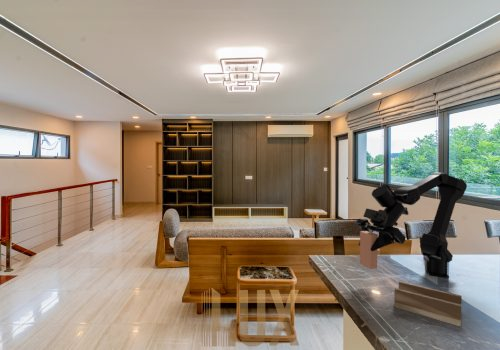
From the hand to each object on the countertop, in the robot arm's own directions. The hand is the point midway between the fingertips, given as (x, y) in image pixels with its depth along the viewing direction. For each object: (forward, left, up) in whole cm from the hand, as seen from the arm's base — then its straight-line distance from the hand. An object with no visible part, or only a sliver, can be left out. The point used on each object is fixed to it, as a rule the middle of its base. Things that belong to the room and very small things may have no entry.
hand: (365, 248), depth 95 cm
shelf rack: (-16, +11, -13) cm, 24 cm away
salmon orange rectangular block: (-1, -1, -7) cm, 7 cm away
